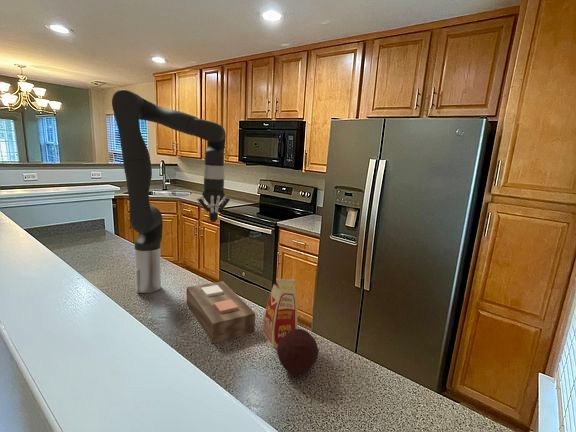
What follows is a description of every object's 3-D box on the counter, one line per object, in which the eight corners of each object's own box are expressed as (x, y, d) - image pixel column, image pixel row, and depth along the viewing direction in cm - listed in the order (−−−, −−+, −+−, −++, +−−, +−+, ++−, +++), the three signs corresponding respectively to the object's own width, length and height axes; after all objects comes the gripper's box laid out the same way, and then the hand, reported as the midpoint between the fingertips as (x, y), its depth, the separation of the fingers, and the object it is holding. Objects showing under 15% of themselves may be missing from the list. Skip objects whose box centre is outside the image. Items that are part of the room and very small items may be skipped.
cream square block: (206, 305, 109) (206, 294, 108) (201, 297, 114) (201, 287, 113) (222, 301, 112) (223, 291, 112) (217, 294, 117) (217, 284, 116)
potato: (314, 354, 91) (317, 321, 89) (319, 387, 78) (323, 350, 76) (276, 352, 91) (278, 319, 89) (275, 385, 78) (278, 347, 76)
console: (212, 343, 93) (212, 323, 92) (186, 303, 116) (186, 287, 115) (254, 331, 101) (255, 313, 100) (222, 296, 124) (222, 281, 123)
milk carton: (273, 348, 93) (277, 285, 89) (261, 332, 101) (264, 273, 97) (299, 341, 97) (304, 281, 94) (286, 326, 105) (290, 270, 102)
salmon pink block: (220, 322, 98) (220, 310, 98) (213, 314, 103) (213, 302, 103) (237, 318, 102) (238, 306, 101) (230, 310, 107) (230, 299, 106)
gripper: (226, 176, 126) (225, 218, 130) (193, 176, 119) (193, 220, 122) (234, 178, 120) (232, 222, 123) (199, 178, 113) (199, 224, 116)
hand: (213, 221), depth 123 cm, fingers closed
